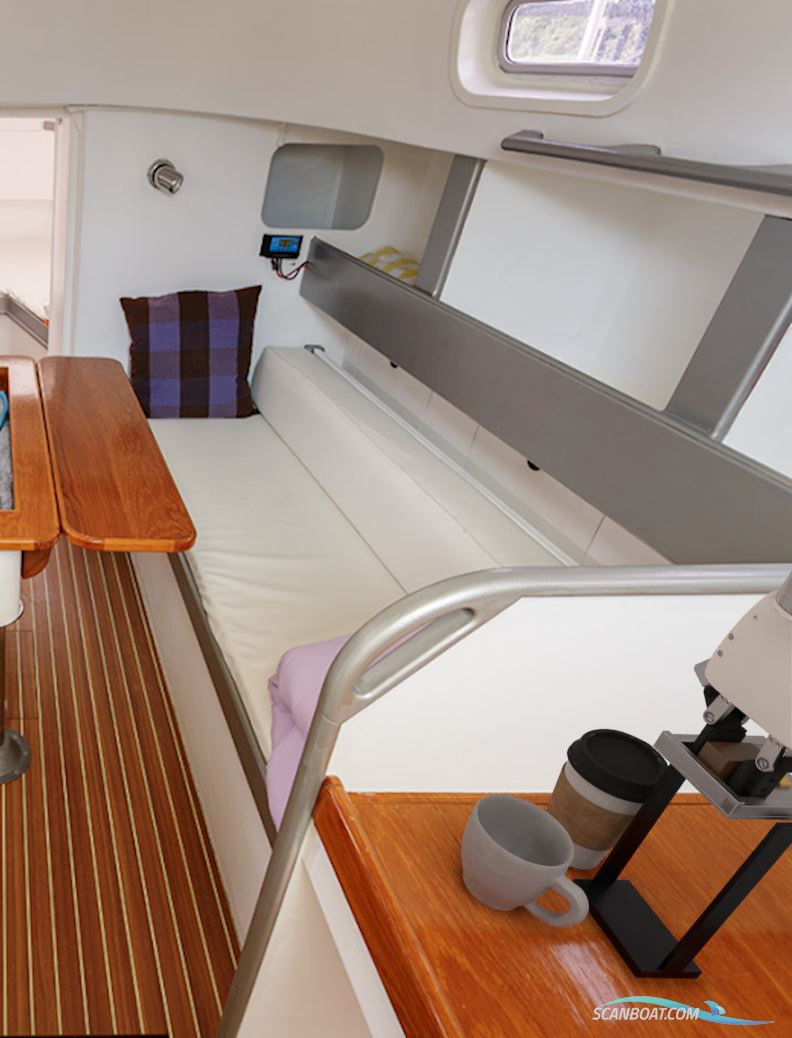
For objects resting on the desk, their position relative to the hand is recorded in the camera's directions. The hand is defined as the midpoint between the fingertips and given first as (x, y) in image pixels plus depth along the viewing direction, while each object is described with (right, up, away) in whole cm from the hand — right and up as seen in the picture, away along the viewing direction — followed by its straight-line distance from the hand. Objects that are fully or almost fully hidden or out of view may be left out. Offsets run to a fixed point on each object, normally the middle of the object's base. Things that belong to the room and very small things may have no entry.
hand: (723, 776), depth 64 cm
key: (+2, 0, 0) cm, 2 cm away
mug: (-10, -18, +14) cm, 25 cm away
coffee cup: (+1, -15, +20) cm, 25 cm away
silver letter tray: (+2, -1, 0) cm, 2 cm away
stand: (+1, -20, +11) cm, 23 cm away
